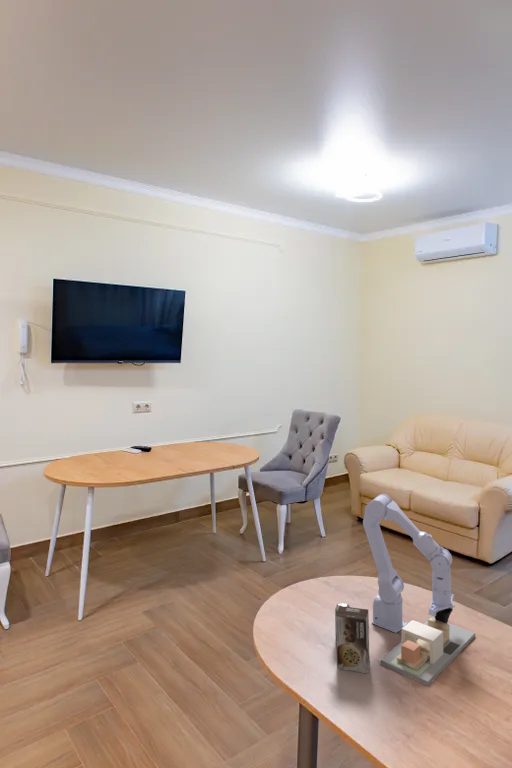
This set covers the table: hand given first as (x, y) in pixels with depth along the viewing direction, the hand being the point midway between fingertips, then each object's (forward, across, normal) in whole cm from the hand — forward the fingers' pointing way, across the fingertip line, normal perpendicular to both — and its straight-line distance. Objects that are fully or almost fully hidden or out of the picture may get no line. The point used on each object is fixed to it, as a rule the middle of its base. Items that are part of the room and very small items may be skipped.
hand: (441, 629), depth 161 cm
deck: (+3, -9, 0) cm, 9 cm away
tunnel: (+2, -14, 0) cm, 14 cm away
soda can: (+3, -24, +22) cm, 33 cm away
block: (0, -21, 0) cm, 21 cm away
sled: (+1, -13, 0) cm, 13 cm away
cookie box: (+3, -32, +13) cm, 34 cm away
